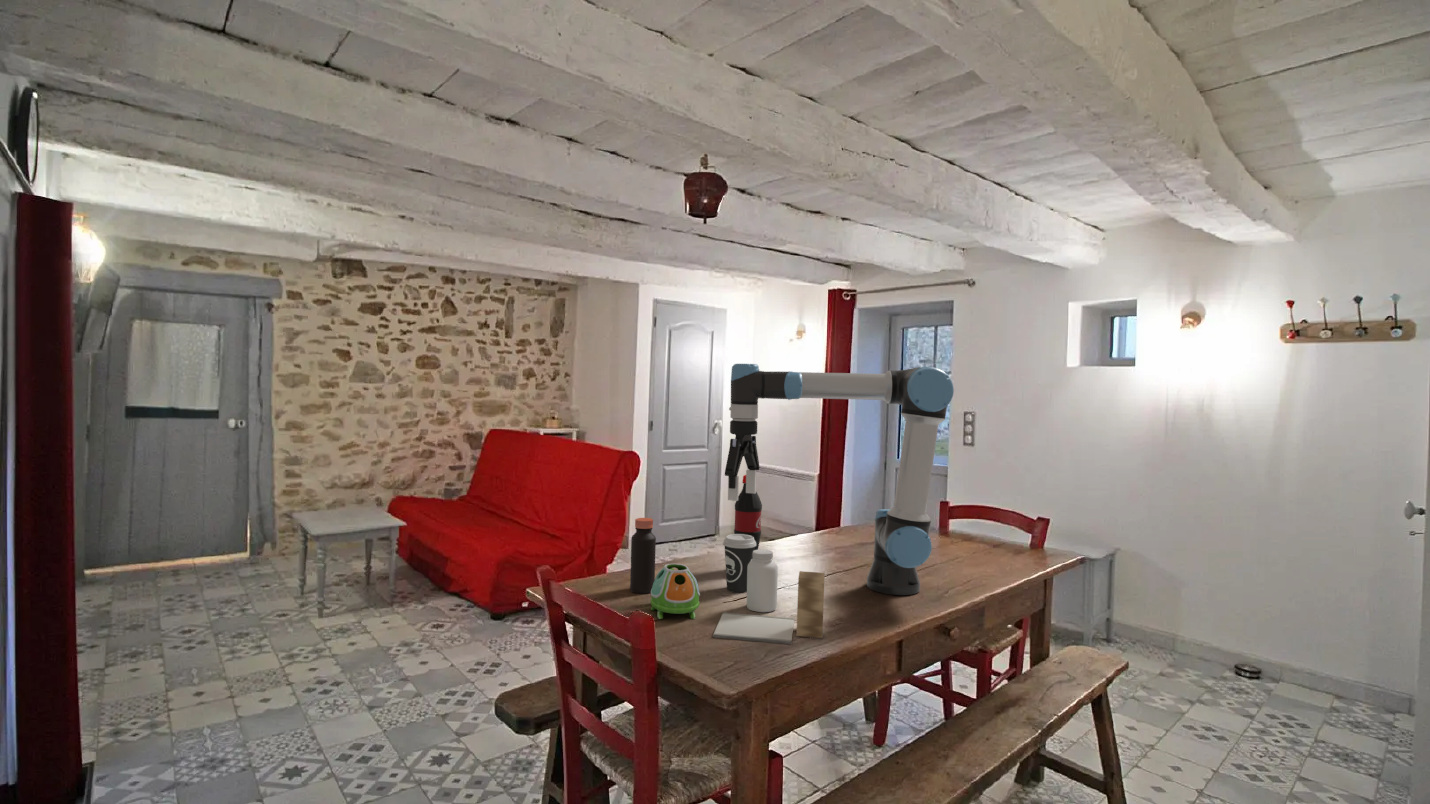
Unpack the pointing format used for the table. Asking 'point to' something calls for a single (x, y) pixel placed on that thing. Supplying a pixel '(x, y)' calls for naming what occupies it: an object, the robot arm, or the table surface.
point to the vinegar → (642, 557)
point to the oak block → (810, 605)
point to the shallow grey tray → (755, 628)
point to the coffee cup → (738, 560)
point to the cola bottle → (748, 514)
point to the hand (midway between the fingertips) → (742, 496)
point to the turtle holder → (675, 591)
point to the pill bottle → (762, 582)
